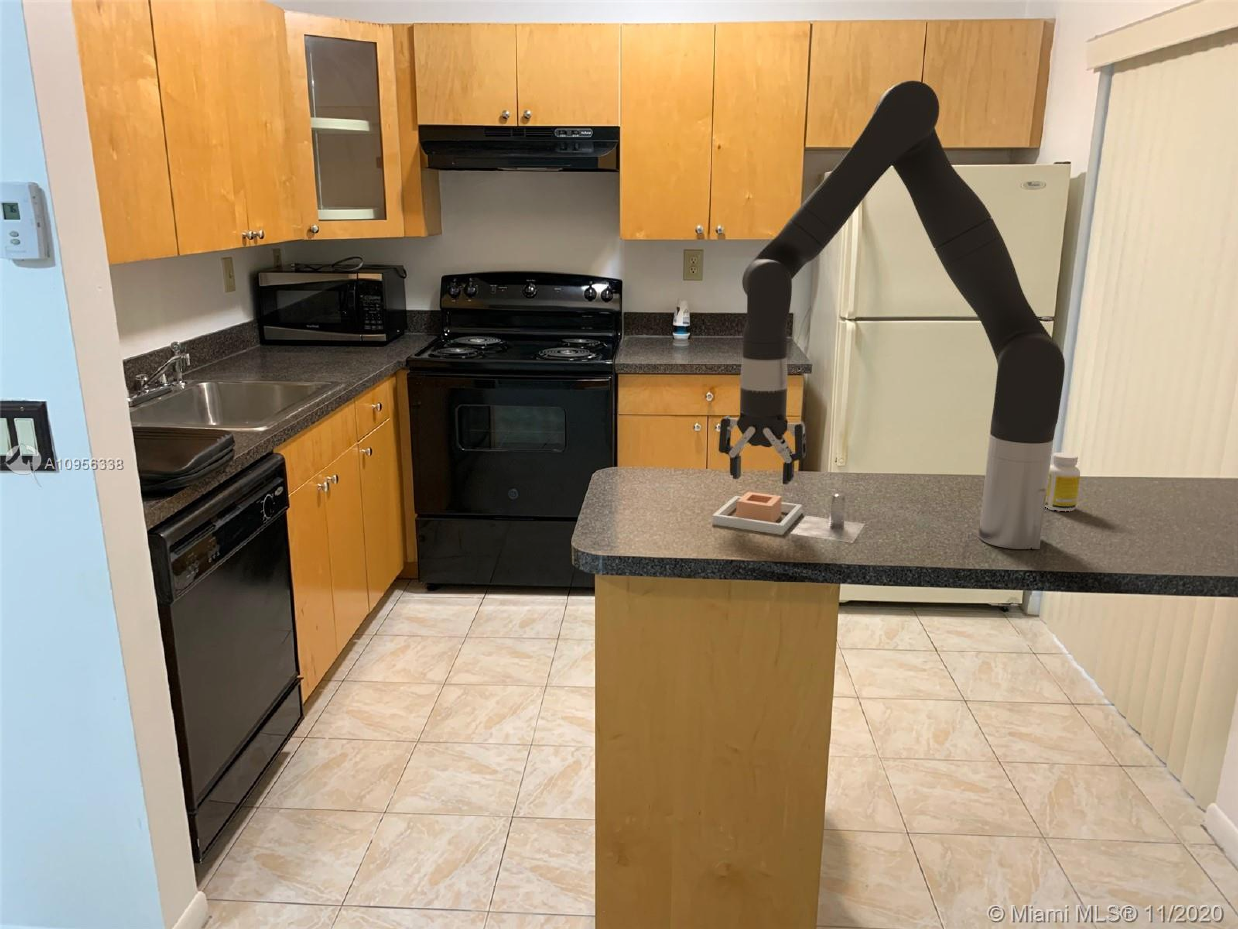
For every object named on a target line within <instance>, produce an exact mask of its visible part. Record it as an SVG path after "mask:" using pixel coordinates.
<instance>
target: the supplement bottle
mask: <svg viewBox="0 0 1238 929" xmlns="http://www.w3.org/2000/svg"><path fill="white" fill-rule="evenodd" d="M1052 454H1053V455H1052V458H1051V459H1052V460H1051V461H1052V462H1051V463H1053V464H1050V470H1049V478H1048V486H1047V496H1046V503H1045V507H1046V508H1045V509H1047V508H1048V509H1047V510H1050V511H1054V510H1057V511H1056V512H1060V511H1065V512H1064V513H1067V512H1066V511H1069V512H1072V511H1075V509H1076V505H1077V500H1078V499H1077V498H1078V492H1079V484H1080V477H1081V470H1080V469H1079V467H1076V465H1077V464H1078V459H1079V456H1078V455H1077V454H1074V453H1070V452H1054V453H1052Z"/></svg>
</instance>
